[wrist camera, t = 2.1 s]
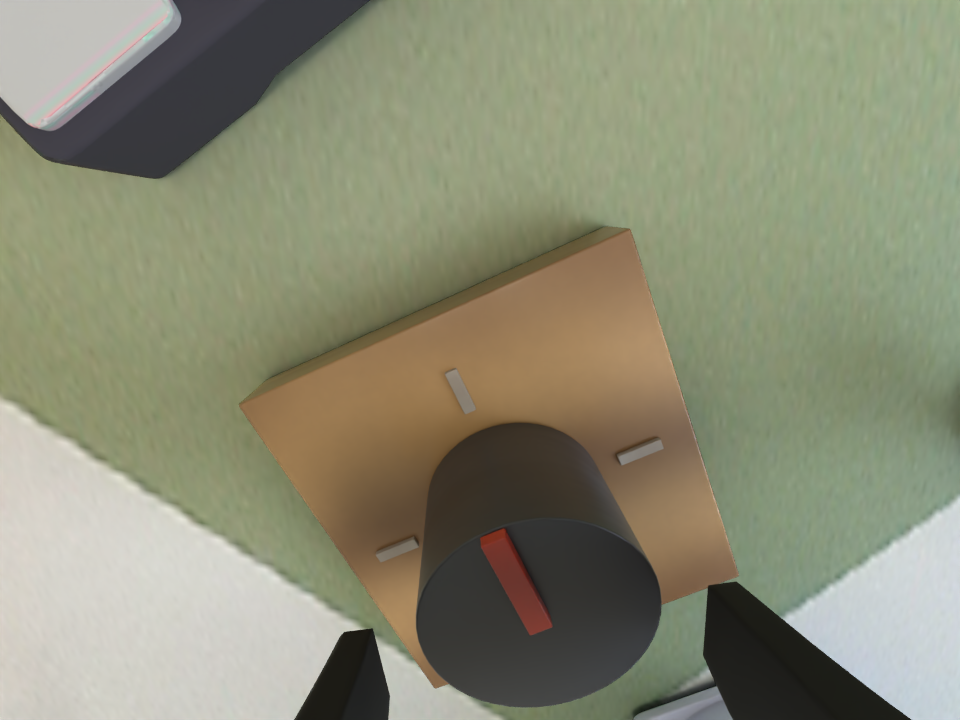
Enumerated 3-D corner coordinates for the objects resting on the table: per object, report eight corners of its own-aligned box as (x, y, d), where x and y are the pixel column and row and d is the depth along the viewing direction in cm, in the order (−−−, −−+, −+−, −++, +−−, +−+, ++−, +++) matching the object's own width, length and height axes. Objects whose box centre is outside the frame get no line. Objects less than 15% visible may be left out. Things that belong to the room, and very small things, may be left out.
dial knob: (624, 533, 15) (696, 672, 10) (471, 592, 15) (477, 750, 11) (566, 393, 13) (624, 487, 9) (396, 465, 14) (366, 589, 9)
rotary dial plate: (709, 537, 18) (743, 580, 16) (436, 641, 19) (434, 694, 17) (606, 225, 14) (633, 227, 12) (265, 380, 15) (233, 407, 13)
